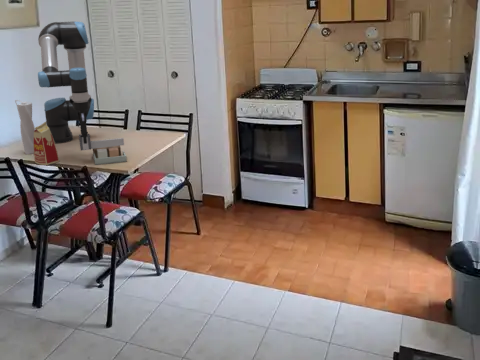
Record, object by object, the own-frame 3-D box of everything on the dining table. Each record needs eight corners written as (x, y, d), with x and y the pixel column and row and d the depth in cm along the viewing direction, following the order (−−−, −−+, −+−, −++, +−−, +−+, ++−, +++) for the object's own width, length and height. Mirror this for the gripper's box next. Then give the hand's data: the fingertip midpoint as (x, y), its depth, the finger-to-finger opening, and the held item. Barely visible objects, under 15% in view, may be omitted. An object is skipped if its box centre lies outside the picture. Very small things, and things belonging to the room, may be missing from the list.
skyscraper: (22, 155, 289) (15, 101, 280) (21, 151, 296) (14, 98, 287) (38, 153, 292) (31, 99, 283) (37, 149, 299) (30, 97, 290)
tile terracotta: (109, 157, 282) (109, 159, 278) (108, 148, 281) (109, 150, 277) (118, 156, 283) (119, 158, 280) (117, 147, 282) (118, 149, 278)
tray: (95, 164, 271) (94, 158, 270) (93, 159, 280) (93, 153, 279) (126, 161, 276) (126, 155, 275) (124, 156, 285) (123, 150, 284)
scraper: (80, 150, 273) (79, 136, 270) (80, 148, 276) (78, 134, 274) (124, 145, 279) (123, 132, 277) (123, 143, 283) (122, 130, 280)
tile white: (97, 158, 280) (98, 160, 277) (96, 149, 279) (97, 151, 275) (107, 157, 282) (107, 159, 278) (106, 148, 280) (106, 150, 277)
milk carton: (48, 158, 282) (43, 119, 276) (60, 161, 278) (55, 121, 271) (32, 163, 275) (27, 123, 269) (44, 166, 270) (39, 125, 264)
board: (94, 159, 280) (93, 149, 279) (93, 153, 290) (92, 144, 289) (121, 156, 284) (120, 147, 283) (118, 151, 294) (117, 142, 293)
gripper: (71, 98, 274) (76, 144, 282) (73, 104, 259) (78, 153, 266) (87, 97, 276) (92, 143, 284) (90, 103, 261) (94, 152, 268)
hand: (85, 148), depth 275 cm, fingers closed on scraper, 4 cm apart
